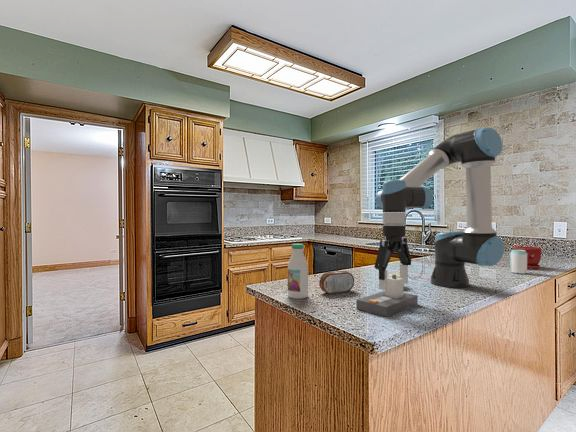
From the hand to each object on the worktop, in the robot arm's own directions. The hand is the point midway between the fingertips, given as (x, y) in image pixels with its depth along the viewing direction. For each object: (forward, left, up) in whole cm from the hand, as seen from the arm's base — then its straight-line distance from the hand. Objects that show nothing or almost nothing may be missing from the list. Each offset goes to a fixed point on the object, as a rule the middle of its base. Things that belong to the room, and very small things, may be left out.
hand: (393, 286), depth 109 cm
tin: (+2, -24, -7) cm, 24 cm away
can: (-98, +14, -6) cm, 99 cm away
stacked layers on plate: (-23, -12, -7) cm, 27 cm away
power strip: (+4, 0, -6) cm, 7 cm away
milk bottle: (+18, -30, -6) cm, 35 cm away
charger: (0, 0, -6) cm, 6 cm away
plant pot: (-120, +14, -7) cm, 121 cm away
